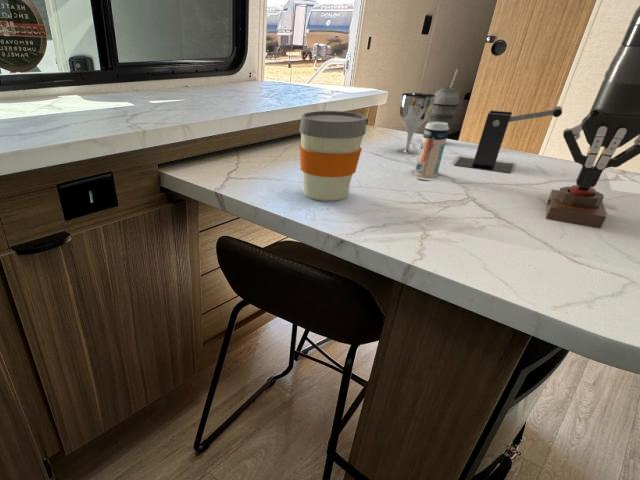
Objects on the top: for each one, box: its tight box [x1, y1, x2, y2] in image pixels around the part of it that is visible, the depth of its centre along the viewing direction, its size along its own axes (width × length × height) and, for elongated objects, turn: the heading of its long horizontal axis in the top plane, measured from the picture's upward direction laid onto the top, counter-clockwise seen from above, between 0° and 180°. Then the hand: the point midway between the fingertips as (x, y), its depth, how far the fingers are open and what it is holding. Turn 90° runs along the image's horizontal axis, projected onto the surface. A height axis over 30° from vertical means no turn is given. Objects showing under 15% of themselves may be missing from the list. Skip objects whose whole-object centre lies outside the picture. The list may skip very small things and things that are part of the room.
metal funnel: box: [399, 92, 436, 155], centre depth 107 cm, size 8×8×15 cm
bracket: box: [453, 110, 514, 174], centre depth 98 cm, size 12×9×13 cm
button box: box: [545, 186, 607, 229], centre depth 76 cm, size 12×8×4 cm, turn 147°
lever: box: [508, 105, 563, 123], centre depth 92 cm, size 13×5×2 cm, turn 57°
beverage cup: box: [428, 68, 460, 128], centre depth 115 cm, size 7×7×20 cm
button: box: [569, 184, 597, 196], centre depth 75 cm, size 4×4×2 cm
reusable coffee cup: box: [298, 110, 367, 202], centre depth 82 cm, size 13×13×15 cm
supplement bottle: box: [414, 121, 450, 182], centre depth 92 cm, size 5×5×12 cm
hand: (583, 188), depth 74 cm, fingers closed
